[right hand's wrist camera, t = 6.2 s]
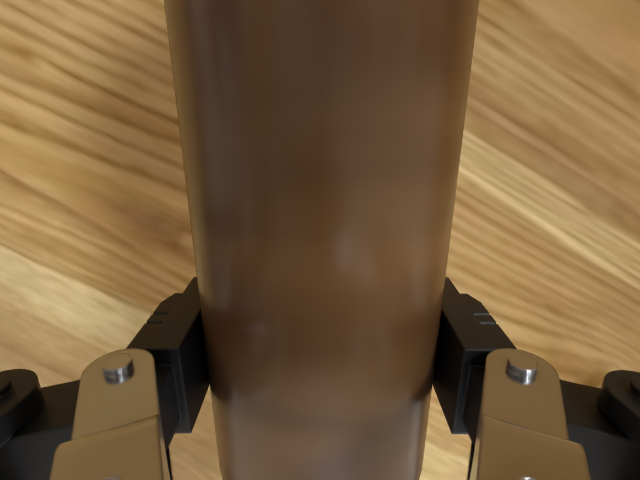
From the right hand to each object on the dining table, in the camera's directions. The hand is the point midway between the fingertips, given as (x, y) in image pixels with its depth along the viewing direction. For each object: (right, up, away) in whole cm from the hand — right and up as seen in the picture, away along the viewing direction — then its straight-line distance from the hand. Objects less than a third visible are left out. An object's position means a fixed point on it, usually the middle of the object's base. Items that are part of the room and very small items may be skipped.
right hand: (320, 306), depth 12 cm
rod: (0, +8, -1) cm, 8 cm away
